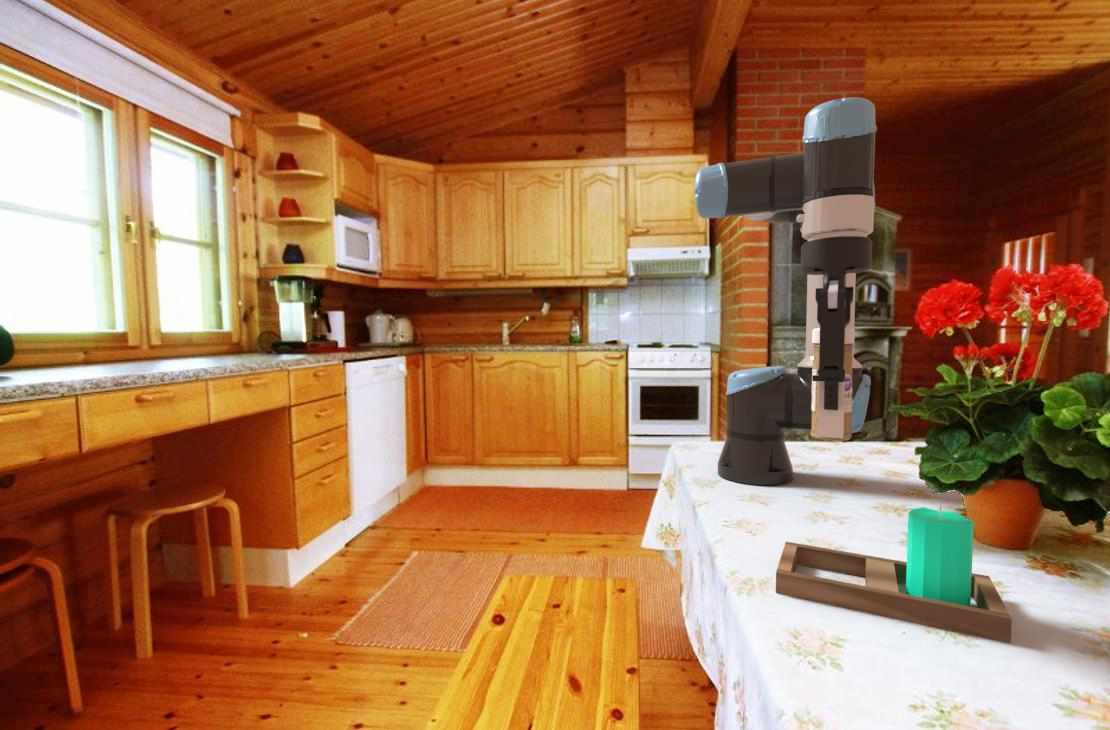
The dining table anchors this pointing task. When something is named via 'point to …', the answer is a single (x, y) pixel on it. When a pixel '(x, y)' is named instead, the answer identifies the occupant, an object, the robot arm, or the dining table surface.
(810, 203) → the robot arm
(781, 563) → the walnut rail
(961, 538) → the candle
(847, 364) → the sprinkles bottle
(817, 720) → the dining table surface
